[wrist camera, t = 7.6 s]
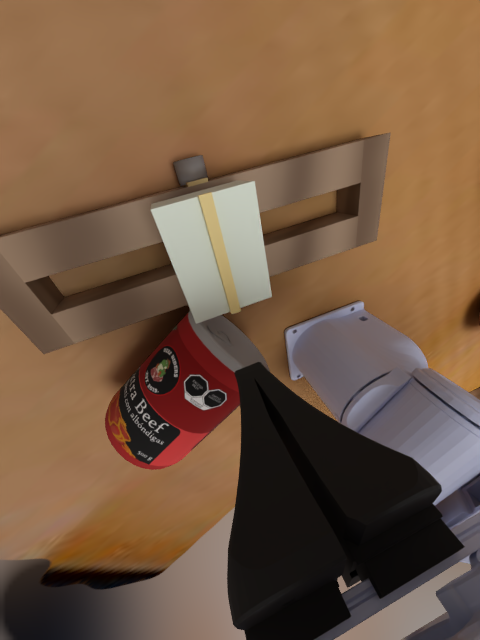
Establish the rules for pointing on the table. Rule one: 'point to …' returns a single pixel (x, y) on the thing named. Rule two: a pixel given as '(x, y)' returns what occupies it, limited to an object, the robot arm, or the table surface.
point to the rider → (216, 247)
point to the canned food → (180, 392)
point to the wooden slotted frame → (141, 231)
